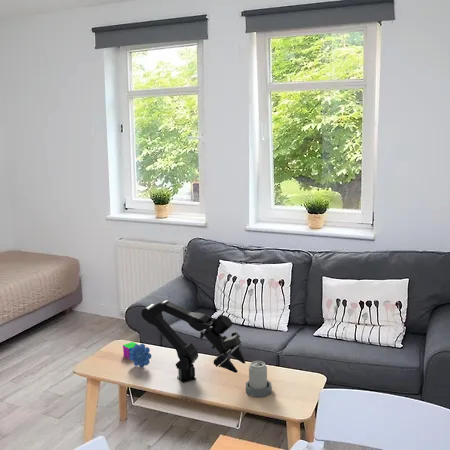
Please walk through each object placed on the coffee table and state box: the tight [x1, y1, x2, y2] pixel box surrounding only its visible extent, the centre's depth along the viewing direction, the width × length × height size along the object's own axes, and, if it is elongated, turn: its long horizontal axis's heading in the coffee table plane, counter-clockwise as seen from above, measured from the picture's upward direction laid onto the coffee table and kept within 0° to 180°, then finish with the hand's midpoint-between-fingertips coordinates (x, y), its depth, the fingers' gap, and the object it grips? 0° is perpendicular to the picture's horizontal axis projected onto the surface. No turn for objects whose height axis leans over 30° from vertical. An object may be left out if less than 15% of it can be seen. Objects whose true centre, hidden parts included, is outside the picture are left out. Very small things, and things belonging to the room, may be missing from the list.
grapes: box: [129, 343, 152, 369], centre depth 263 cm, size 12×7×12 cm, turn 64°
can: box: [248, 360, 268, 390], centre depth 237 cm, size 8×8×12 cm
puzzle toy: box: [122, 341, 137, 360], centre depth 276 cm, size 6×6×6 cm
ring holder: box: [245, 379, 273, 398], centre depth 238 cm, size 11×11×3 cm
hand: (240, 367), depth 240 cm, fingers open, 9 cm apart
